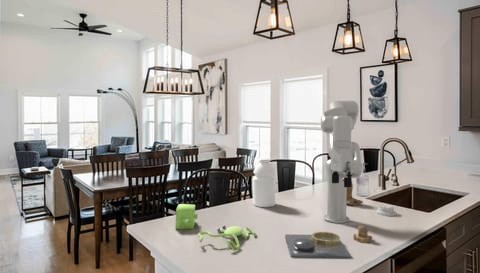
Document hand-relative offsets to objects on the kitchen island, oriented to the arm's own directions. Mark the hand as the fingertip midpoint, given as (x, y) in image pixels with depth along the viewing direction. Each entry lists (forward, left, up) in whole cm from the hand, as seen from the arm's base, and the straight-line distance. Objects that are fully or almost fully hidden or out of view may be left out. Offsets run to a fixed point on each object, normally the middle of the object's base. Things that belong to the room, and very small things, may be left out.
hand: (341, 185), depth 140 cm
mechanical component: (-41, +36, -24) cm, 59 cm away
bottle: (-58, -31, -24) cm, 70 cm away
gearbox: (-16, -70, -24) cm, 75 cm away
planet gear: (0, +9, -24) cm, 25 cm away
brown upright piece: (-62, +20, -24) cm, 70 cm away
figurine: (+3, -48, -24) cm, 54 cm away
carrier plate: (+9, -13, -24) cm, 28 cm away
